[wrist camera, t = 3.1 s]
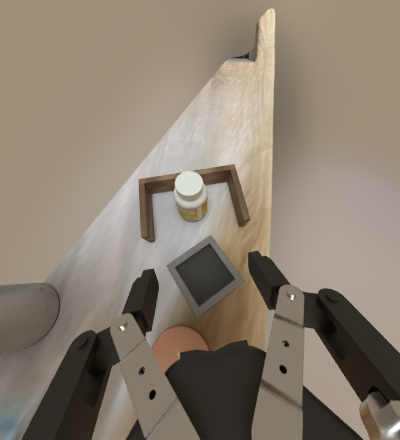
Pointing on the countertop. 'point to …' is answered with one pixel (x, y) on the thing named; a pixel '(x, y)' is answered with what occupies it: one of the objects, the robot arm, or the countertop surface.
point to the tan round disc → (176, 344)
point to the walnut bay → (168, 184)
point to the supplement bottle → (190, 196)
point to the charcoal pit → (204, 275)
